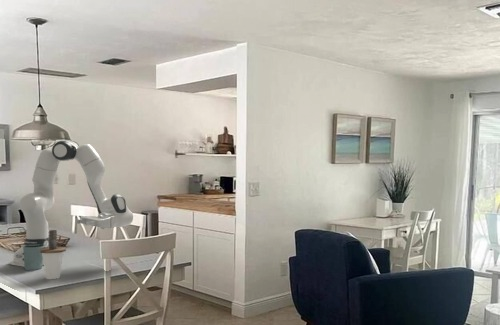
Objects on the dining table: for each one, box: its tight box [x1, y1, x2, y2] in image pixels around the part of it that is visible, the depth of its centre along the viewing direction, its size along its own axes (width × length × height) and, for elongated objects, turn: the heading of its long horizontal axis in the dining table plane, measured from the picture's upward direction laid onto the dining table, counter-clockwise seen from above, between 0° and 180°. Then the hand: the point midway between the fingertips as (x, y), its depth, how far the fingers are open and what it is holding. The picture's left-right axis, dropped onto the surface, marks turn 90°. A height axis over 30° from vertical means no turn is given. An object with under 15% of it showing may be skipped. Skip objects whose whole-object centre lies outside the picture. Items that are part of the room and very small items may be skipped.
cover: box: [39, 229, 67, 253], centre depth 235 cm, size 12×12×10 cm
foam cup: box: [42, 252, 64, 280], centre depth 235 cm, size 10×9×13 cm
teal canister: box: [22, 244, 44, 272], centre depth 254 cm, size 10×10×12 cm
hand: (81, 222), depth 249 cm, fingers open, 8 cm apart
